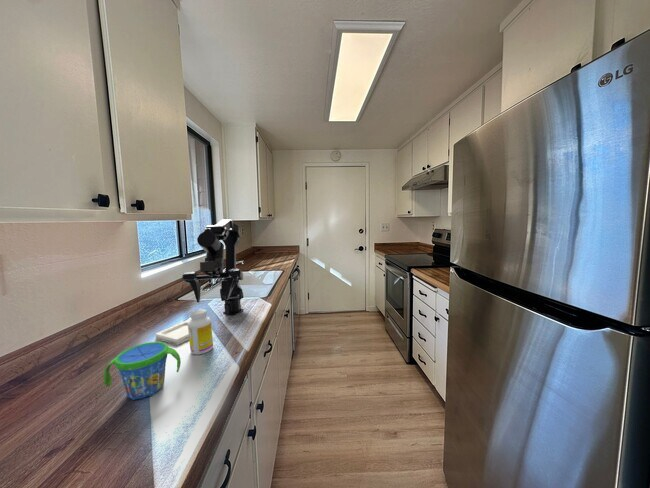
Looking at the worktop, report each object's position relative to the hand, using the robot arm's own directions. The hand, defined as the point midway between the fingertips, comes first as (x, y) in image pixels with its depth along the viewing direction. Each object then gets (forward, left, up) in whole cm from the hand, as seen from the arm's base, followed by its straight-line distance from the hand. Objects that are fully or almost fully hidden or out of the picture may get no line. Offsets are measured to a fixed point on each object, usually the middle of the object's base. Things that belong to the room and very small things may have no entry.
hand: (212, 301), depth 84 cm
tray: (0, -18, -15) cm, 23 cm away
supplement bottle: (+5, -1, -15) cm, 16 cm away
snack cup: (+24, +3, -15) cm, 29 cm away
